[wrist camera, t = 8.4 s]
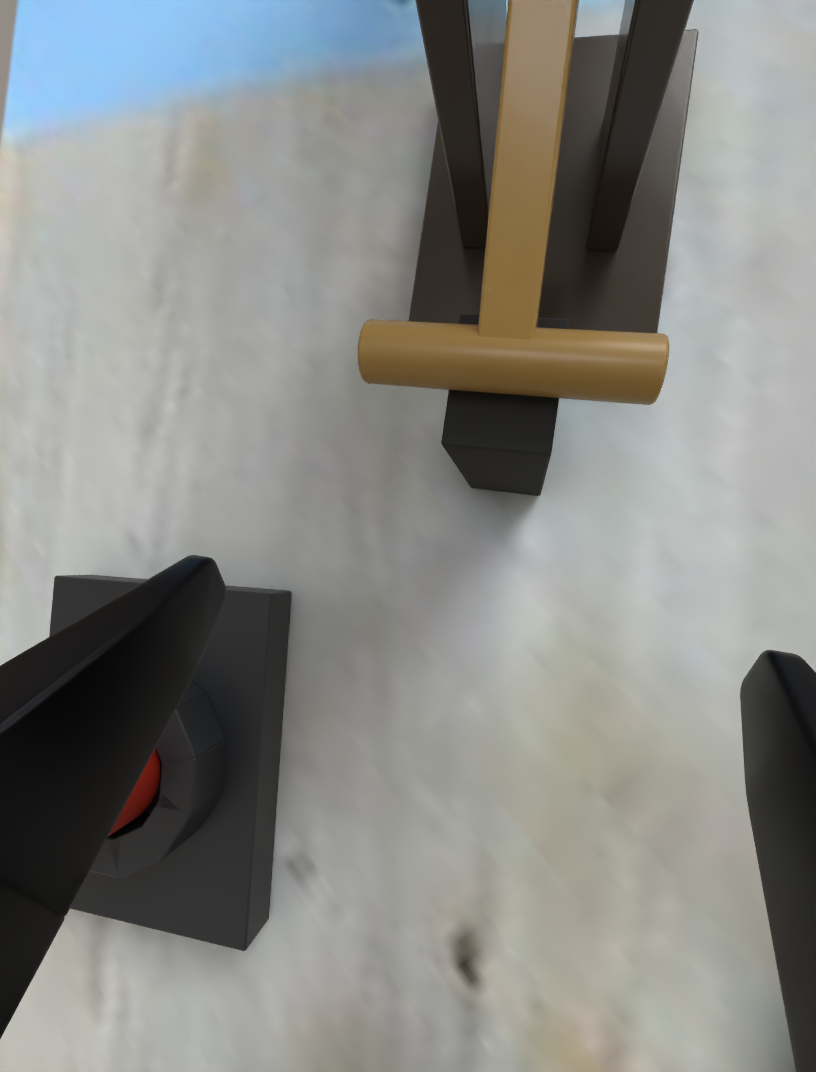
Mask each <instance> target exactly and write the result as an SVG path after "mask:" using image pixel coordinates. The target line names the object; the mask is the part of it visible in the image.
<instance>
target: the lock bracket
mask: <svg viewBox="0 0 816 1072" xmlns="http://www.w3.org/2000/svg"><path fill="white" fill-rule="evenodd" d="M693 2H694V0H625V5H624V10H623V16H622V21H621V27H620V32H619V35H605V36H591V37H576V38H574V44H573V52H572V60H571V67H570V75H569V83H568V91H567V98H566V106H565V114H564V121H563V129H562V137H561V145H560V152H559V160H558V168H557V176H556V183H555V191H554V199H553V207H552V214H551V222H550V230H549V237H548V245H547V253H546V261H545V268H544V276H543V284H542V292H541V299H540V307H539V315H538V318H558V319H568V320H569V322H570V323H569V329H576V330H597V331H617V332H638V333H657V331H658V323H659V316H660V309H661V302H662V294H663V287H664V280H665V272H666V265H667V258H668V251H669V243H670V236H671V229H672V222H673V214H674V207H675V200H676V192H677V185H678V178H679V171H680V163H681V156H682V149H683V141H684V134H685V127H686V120H687V112H688V105H689V98H690V90H691V83H692V76H693V69H694V61H695V54H696V47H697V39H698V30H697V29H693V30H685V28H686V25H687V21H688V18H689V15H690V11H691V8H692V5H693ZM416 5H417V11H418V16H419V21H420V27H421V32H422V37H423V42H424V48H425V53H426V58H427V63H428V69H429V74H430V79H431V84H432V90H433V95H434V100H435V105H436V111H437V116H438V125H437V132H436V139H435V146H434V152H433V159H432V166H431V173H430V180H429V186H428V193H427V200H426V207H425V214H424V220H423V227H422V234H421V241H420V248H419V254H418V261H417V268H416V275H415V282H414V288H413V295H412V302H411V309H410V316H409V321H413V322H433V323H454V324H459V318H460V315H462V314H469V315H480V304H481V293H482V282H483V271H484V261H485V250H486V239H487V228H488V217H489V206H490V196H491V185H492V174H493V163H494V152H495V142H496V131H497V120H498V109H499V98H500V87H501V77H502V66H503V55H504V44H505V33H506V23H507V18H506V0H416Z"/></svg>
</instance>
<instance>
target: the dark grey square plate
mask: <svg viewBox="0 0 816 1072" xmlns="http://www.w3.org/2000/svg"><path fill="white" fill-rule="evenodd" d="M146 580H147V579H135V578H122V577H110V576H97V575H67V576H56V577H55V578H54V590H53V601H52V613H51V624H50V636H52V635H54V634H56V633H57V632H59V631H61V630H62V629H64V628H66V627H68V626H69V625H71V624H73V623H74V622H76V621H78V620H80V619H81V618H83V617H85V616H86V615H88V614H90V613H92V612H93V611H95V610H97V609H98V608H100V607H102V606H104V605H105V604H107V603H109V602H110V601H112V600H114V599H116V598H117V597H119V596H121V595H122V594H124V593H126V592H128V591H129V590H131V589H133V588H134V587H136V586H138V585H140V584H141V583H143V582H145V581H146ZM290 603H291V592H290V591H285V590H272V589H260V588H247V587H235V586H226V599H225V602H224V604H223V607H222V609H221V612H220V614H219V617H218V619H217V622H216V624H215V627H214V629H213V632H212V634H211V636H210V639H209V641H208V644H207V646H206V649H205V651H204V654H203V656H202V659H201V661H200V663H199V666H198V668H197V670H196V672H195V674H194V676H193V678H192V680H191V682H190V684H189V686H188V688H187V690H186V692H185V694H184V695H183V697H182V699H181V701H180V703H179V705H178V707H177V709H176V710H175V712H174V714H173V716H172V718H171V720H170V722H169V724H168V725H167V727H166V729H165V731H164V733H163V735H162V737H161V739H160V740H159V742H158V744H157V746H156V749H157V752H158V754H159V759H160V781H159V786H158V789H157V792H156V795H155V797H154V799H153V800H152V802H151V804H150V805H149V807H148V808H147V809H146V810H145V811H144V812H143V813H142V814H141V815H140V816H138V817H137V818H135V819H134V820H132V821H131V822H129V823H128V824H126V825H125V826H123V827H122V828H120V829H119V830H117V831H116V832H114V833H113V834H111V835H110V836H108V838H107V840H106V841H105V843H104V845H103V847H102V849H101V851H100V853H99V855H98V856H97V858H96V860H95V862H94V864H93V866H92V868H91V870H90V871H89V873H88V875H87V877H86V879H85V881H84V883H83V885H82V886H81V888H80V890H79V892H78V894H77V896H76V898H75V900H74V901H73V903H72V905H71V907H70V908H71V909H75V910H79V911H83V912H87V913H91V914H95V915H99V916H103V917H107V918H111V919H116V920H120V921H124V922H128V923H132V924H136V925H140V926H144V927H148V928H152V929H156V930H160V931H165V932H169V933H173V934H177V935H181V936H185V937H189V938H193V939H197V940H201V941H205V942H210V943H214V944H218V945H222V946H226V947H230V948H234V949H238V950H242V951H245V950H246V949H247V948H248V947H249V945H250V944H251V943H252V941H253V940H254V938H255V937H256V936H257V934H258V933H259V931H260V930H261V929H262V927H263V926H264V924H265V923H266V922H267V920H268V918H269V904H270V890H271V876H272V861H273V847H274V833H275V818H276V804H277V790H278V775H279V761H280V746H281V732H282V718H283V703H284V689H285V675H286V660H287V646H288V632H289V617H290ZM50 636H49V637H50Z"/></svg>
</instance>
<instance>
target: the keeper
mask: <svg viewBox="0 0 816 1072" xmlns="http://www.w3.org/2000/svg"><path fill="white" fill-rule="evenodd" d="M569 323H570V322H569V320H568V319H558V318H538V323H537V328H556V329H569ZM459 324H474V325H479V315H469V314H462V315H460V318H459ZM558 401H559V398H552V397H539V396H526V395H513V394H500V393H487V392H474V391H461V390H449V394H448V401H447V407H446V414H445V421H444V428H443V435H442V442H441V443H442V445H443V447H444V448H445V450H446V451H447V453H448V454H449V456H450V457H451V459H452V460H453V461H454V463H455V464H456V466H457V467H458V469H459V470H460V472H461V473H462V475H463V476H464V478H465V479H466V481H467V482H468V484H469V485H470V487H471V488H477V489H486V490H494V491H503V492H511V493H520V494H528V495H537V496H539V495H540V494H541V490H542V487H543V483H544V479H545V475H546V471H547V467H548V463H549V460H550V456H551V451H552V444H553V437H554V429H555V422H556V415H557V408H558Z"/></svg>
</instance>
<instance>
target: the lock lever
mask: <svg viewBox="0 0 816 1072" xmlns="http://www.w3.org/2000/svg"><path fill="white" fill-rule="evenodd" d="M578 5H579V0H509V1H508V12H507V23H506V33H505V44H504V55H503V66H502V77H501V87H500V98H499V109H498V120H497V131H496V142H495V152H494V163H493V174H492V185H491V196H490V206H489V217H488V228H487V239H486V250H485V261H484V271H483V282H482V293H481V304H480V315H479V325H474V324H454V323H433V322H413V321H392V320H372V319H371V320H368V321H366V322H365V323H364V325H363V327H362V329H361V333H360V337H359V343H358V364H359V370H360V374H361V377H362V379H363V380H364V381H365V382H367V383H370V384H383V385H396V386H409V387H422V388H435V389H448V390H461V391H474V392H487V393H500V394H513V395H526V396H539V397H552V398H565V399H578V400H591V401H604V402H617V403H630V404H643V405H650V404H653V403H654V402H655V401H656V399H657V397H658V396H659V393H660V391H661V388H662V385H663V382H664V378H665V374H666V369H667V364H668V357H669V340H668V336H667V335H665V334H658V333H638V332H617V331H597V330H576V329H556V328H537V323H538V315H539V307H540V299H541V292H542V284H543V276H544V268H545V261H546V253H547V245H548V237H549V230H550V222H551V214H552V207H553V199H554V191H555V183H556V176H557V168H558V160H559V152H560V145H561V137H562V129H563V121H564V114H565V106H566V98H567V91H568V83H569V75H570V67H571V60H572V52H573V44H574V36H575V29H576V21H577V13H578Z"/></svg>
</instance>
